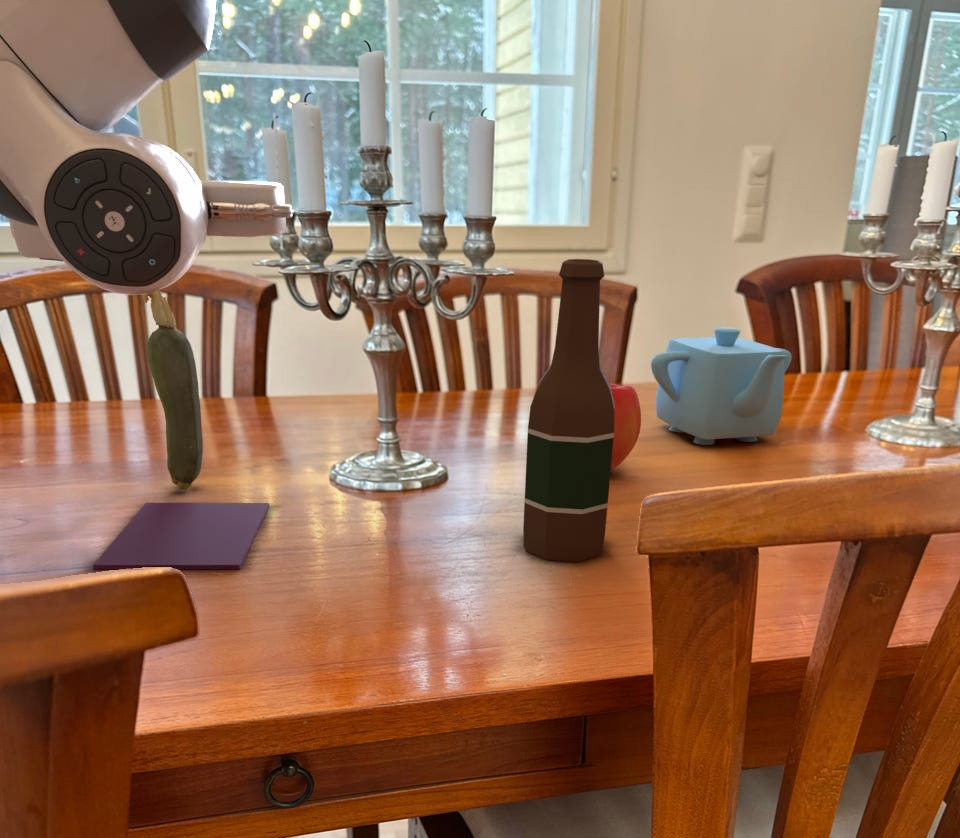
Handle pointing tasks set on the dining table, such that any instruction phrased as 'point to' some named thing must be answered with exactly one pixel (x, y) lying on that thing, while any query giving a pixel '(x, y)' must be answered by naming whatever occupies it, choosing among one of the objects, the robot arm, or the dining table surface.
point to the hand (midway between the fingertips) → (158, 202)
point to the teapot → (720, 386)
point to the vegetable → (176, 392)
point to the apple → (624, 422)
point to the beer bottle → (571, 430)
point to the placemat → (186, 536)
